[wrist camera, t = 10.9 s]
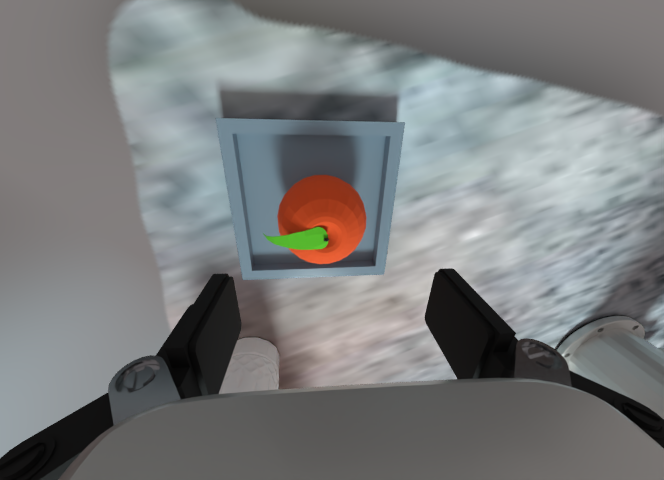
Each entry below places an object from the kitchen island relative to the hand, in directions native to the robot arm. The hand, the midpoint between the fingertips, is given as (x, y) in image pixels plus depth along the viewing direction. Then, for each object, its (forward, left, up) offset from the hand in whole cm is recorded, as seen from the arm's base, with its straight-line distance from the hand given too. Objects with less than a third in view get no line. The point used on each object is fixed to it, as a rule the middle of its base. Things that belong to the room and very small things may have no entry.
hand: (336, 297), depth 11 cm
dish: (+1, 0, -13) cm, 13 cm away
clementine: (+1, 0, -13) cm, 13 cm away
